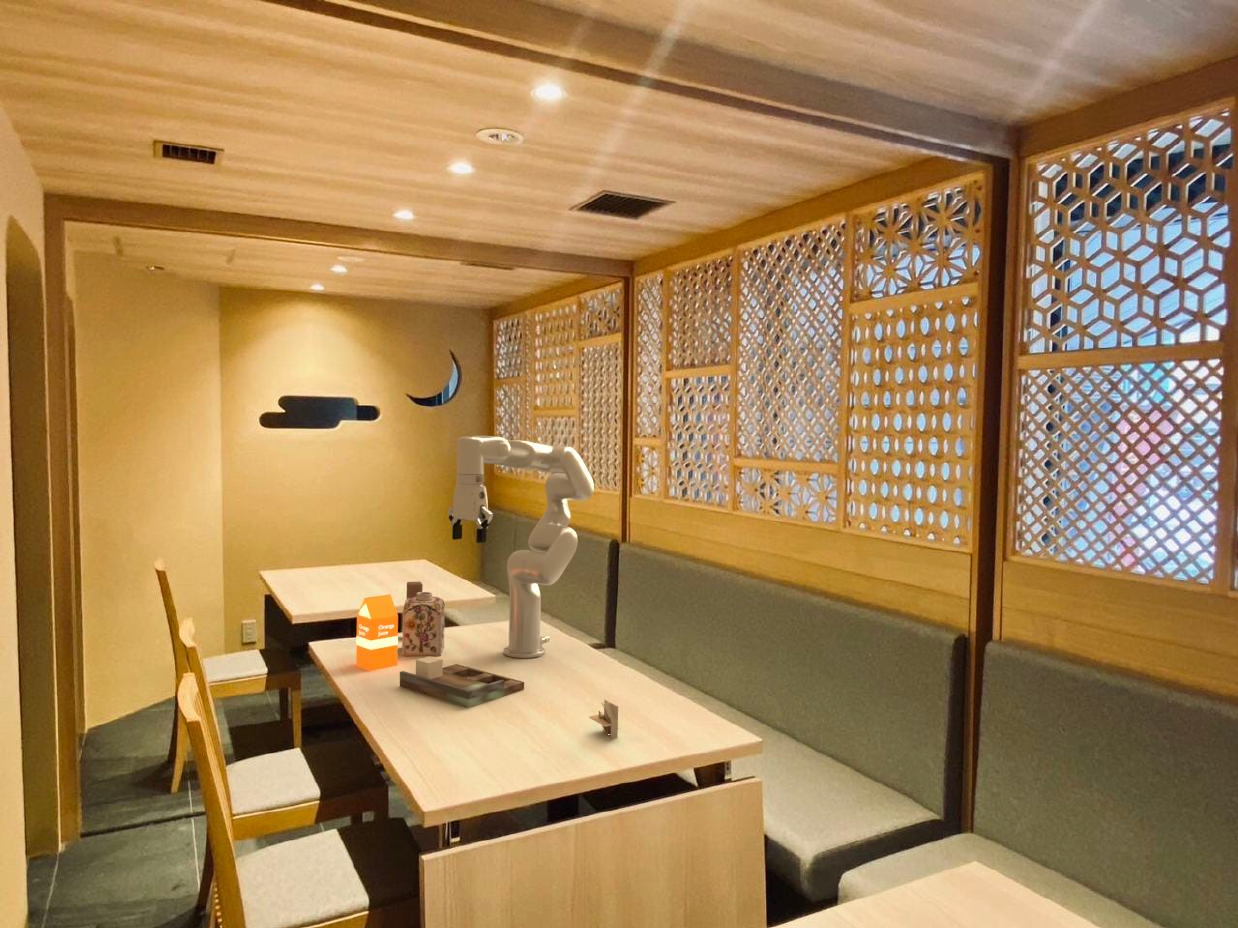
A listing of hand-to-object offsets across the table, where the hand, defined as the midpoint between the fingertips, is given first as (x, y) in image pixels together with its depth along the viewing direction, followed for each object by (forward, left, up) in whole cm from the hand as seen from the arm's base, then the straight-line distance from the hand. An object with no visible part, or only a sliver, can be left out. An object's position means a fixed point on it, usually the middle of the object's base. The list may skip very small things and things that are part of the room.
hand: (469, 540), depth 249 cm
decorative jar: (-5, -24, -37) cm, 44 cm away
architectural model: (+15, +62, -38) cm, 74 cm away
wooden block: (-16, -38, -37) cm, 55 cm away
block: (+16, +3, -35) cm, 38 cm away
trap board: (+13, +12, -37) cm, 41 cm away
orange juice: (+14, -22, -37) cm, 45 cm away
